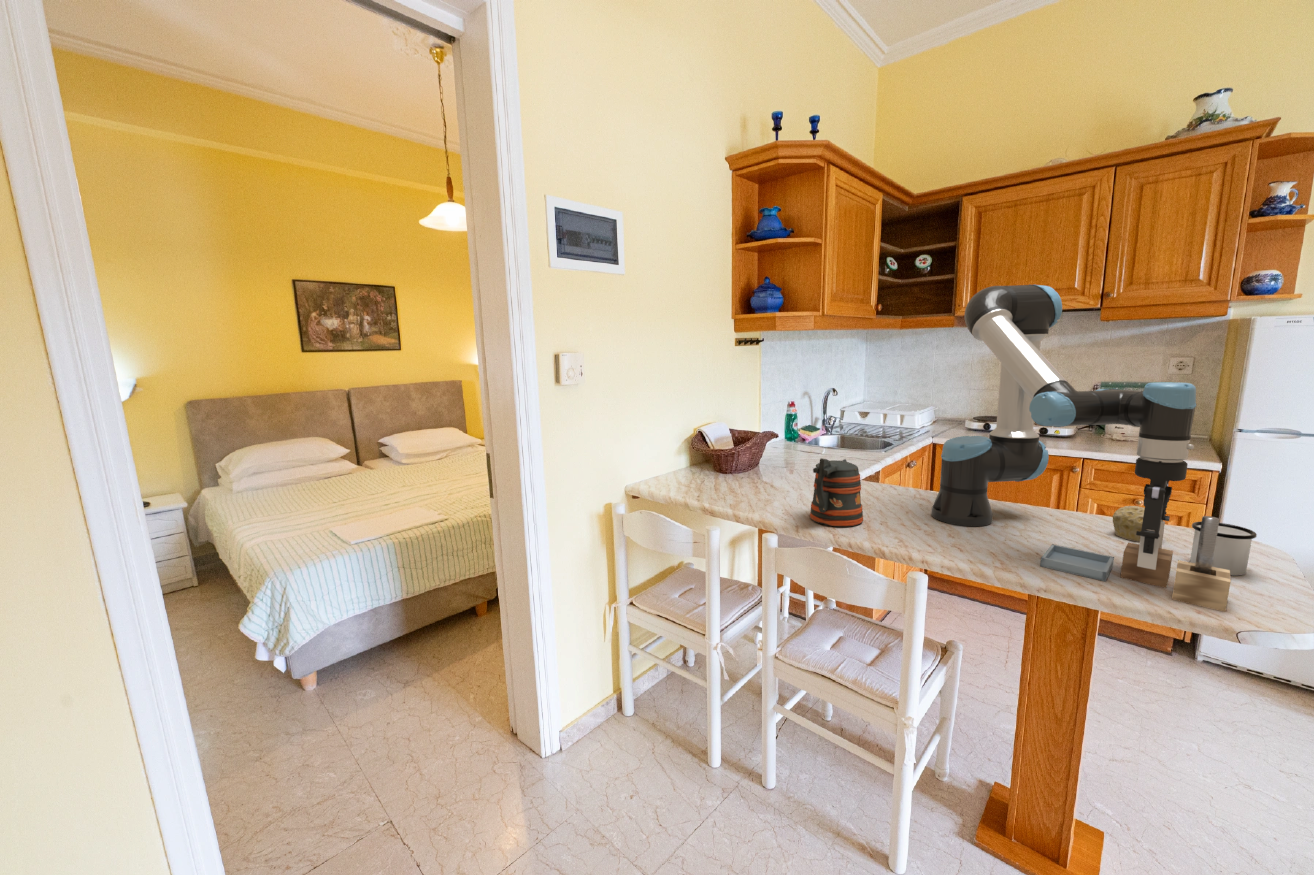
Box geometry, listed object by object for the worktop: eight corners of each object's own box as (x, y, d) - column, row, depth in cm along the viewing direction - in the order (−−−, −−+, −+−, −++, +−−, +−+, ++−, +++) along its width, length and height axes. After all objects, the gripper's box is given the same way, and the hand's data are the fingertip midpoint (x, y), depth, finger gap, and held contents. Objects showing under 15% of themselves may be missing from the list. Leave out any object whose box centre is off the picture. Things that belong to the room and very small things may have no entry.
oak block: (1171, 599, 100) (1176, 570, 99) (1173, 587, 104) (1178, 560, 103) (1225, 612, 95) (1230, 582, 94) (1224, 599, 99) (1229, 570, 98)
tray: (1040, 566, 116) (1040, 557, 115) (1051, 552, 123) (1052, 544, 123) (1105, 581, 107) (1106, 572, 107) (1113, 565, 115) (1114, 557, 115)
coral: (1170, 540, 128) (1175, 511, 126) (1144, 545, 125) (1149, 516, 124) (1128, 528, 136) (1131, 501, 135) (1103, 533, 134) (1106, 505, 133)
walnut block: (1120, 578, 109) (1123, 551, 108) (1124, 568, 114) (1128, 542, 113) (1166, 588, 104) (1170, 560, 103) (1169, 577, 109) (1173, 550, 108)
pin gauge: (1190, 592, 99) (1202, 518, 97) (1191, 588, 101) (1202, 515, 98) (1207, 596, 98) (1219, 520, 95) (1207, 592, 99) (1219, 517, 97)
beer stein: (848, 536, 137) (850, 463, 133) (795, 526, 146) (797, 457, 142) (869, 517, 152) (872, 450, 148) (820, 508, 160) (822, 446, 157)
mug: (1257, 581, 106) (1264, 539, 104) (1192, 571, 111) (1198, 531, 109) (1236, 560, 115) (1243, 522, 114) (1178, 552, 121) (1183, 515, 119)
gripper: (1184, 471, 93) (1170, 581, 97) (1190, 452, 110) (1178, 546, 113) (1129, 466, 99) (1117, 570, 102) (1142, 448, 116) (1132, 538, 119)
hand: (1149, 558), depth 108 cm, fingers open, 13 cm apart
